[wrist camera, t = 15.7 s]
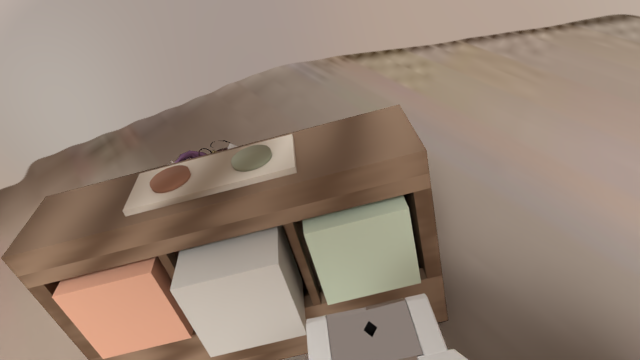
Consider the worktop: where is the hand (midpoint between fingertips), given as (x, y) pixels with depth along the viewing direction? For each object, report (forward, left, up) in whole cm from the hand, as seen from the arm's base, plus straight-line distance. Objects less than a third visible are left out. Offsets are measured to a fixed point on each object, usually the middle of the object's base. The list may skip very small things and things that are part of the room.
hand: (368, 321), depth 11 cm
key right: (+5, +14, -13) cm, 19 cm away
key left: (-9, +19, -13) cm, 24 cm away
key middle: (-2, +14, -13) cm, 19 cm away
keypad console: (-1, +17, -18) cm, 25 cm away
